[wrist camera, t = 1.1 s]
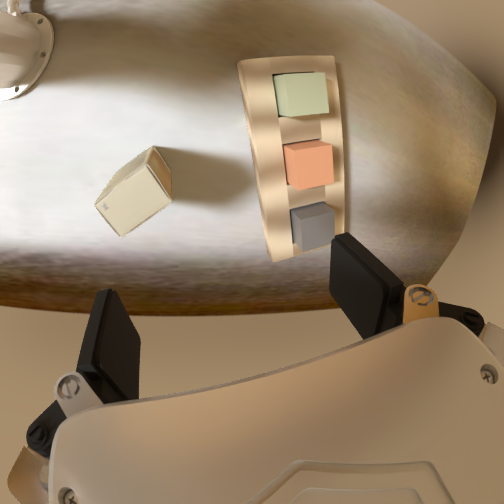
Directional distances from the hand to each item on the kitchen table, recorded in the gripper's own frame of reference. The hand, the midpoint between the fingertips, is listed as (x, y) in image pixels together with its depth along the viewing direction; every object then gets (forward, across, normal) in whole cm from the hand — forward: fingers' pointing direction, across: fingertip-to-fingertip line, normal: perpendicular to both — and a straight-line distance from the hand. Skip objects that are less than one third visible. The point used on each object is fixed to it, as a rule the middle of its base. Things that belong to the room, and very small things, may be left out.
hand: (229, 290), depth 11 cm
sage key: (+24, -13, -7) cm, 29 cm away
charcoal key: (+25, -14, +11) cm, 30 cm away
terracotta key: (+25, -14, +2) cm, 28 cm away
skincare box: (+26, +7, -1) cm, 27 cm away
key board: (+27, -14, +2) cm, 30 cm away
